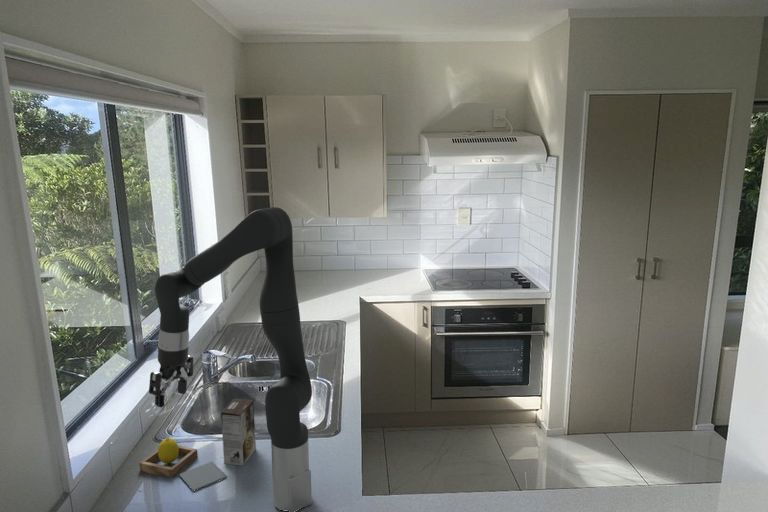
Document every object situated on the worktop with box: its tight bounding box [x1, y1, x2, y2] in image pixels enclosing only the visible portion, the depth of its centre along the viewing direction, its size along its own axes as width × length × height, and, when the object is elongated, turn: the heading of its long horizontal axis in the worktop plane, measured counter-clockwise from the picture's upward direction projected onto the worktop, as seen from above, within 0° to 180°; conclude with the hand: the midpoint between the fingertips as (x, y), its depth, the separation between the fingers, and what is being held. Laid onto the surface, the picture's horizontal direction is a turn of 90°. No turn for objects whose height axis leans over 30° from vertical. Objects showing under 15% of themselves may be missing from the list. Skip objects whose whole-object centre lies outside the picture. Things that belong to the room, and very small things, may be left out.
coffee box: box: [220, 398, 257, 466], centre depth 157 cm, size 9×6×16 cm
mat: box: [178, 461, 228, 492], centre depth 148 cm, size 10×10×1 cm
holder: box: [138, 445, 199, 479], centre depth 154 cm, size 11×11×2 cm
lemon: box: [157, 437, 179, 465], centre depth 154 cm, size 6×6×8 cm
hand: (171, 399), depth 145 cm, fingers open, 8 cm apart
